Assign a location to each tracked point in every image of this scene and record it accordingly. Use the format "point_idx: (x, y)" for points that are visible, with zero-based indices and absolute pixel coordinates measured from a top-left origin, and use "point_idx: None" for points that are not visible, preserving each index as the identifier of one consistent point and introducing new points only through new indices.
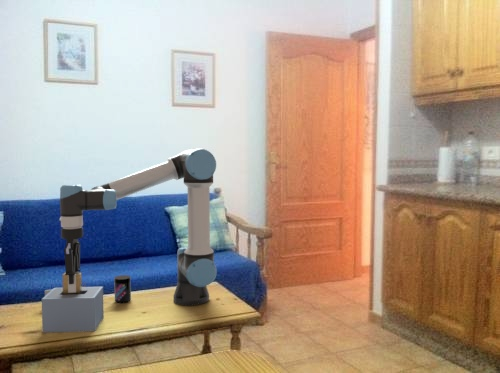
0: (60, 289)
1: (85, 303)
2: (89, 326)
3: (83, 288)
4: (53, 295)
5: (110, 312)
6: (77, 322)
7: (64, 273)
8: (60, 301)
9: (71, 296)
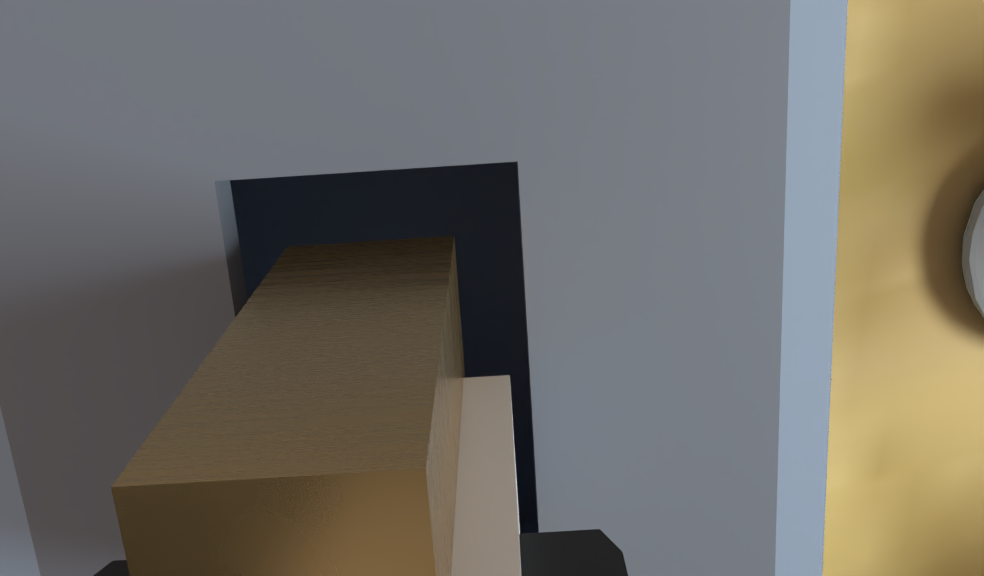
0: (662, 49)
1: None
2: None
3: (701, 551)
4: (142, 67)
5: (853, 551)
6: None
7: (288, 501)
8: None
9: (108, 493)
